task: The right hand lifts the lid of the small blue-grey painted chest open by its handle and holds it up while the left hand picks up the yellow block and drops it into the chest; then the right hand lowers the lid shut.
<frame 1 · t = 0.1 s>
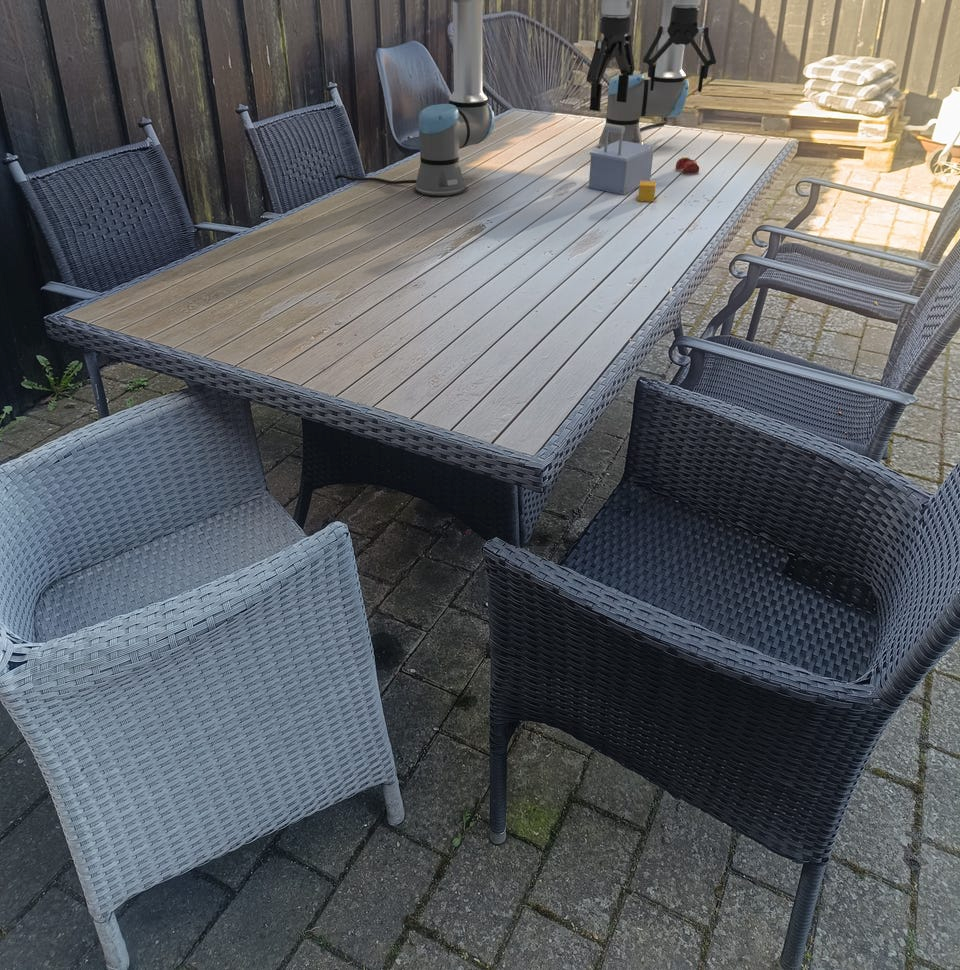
left hand: (608, 106, 226), 28 cm above the table, tool pointing down, fingers open, 13 cm apart
right hand: (675, 90, 243), 28 cm above the table, tool pointing down, fingers open, 13 cm apart
dark red rounded lump: (686, 171, 275), on the table
chest: (619, 184, 263), on the table
block: (646, 199, 251), on the table
lid: (623, 136, 254), point 14 cm above the table, hinge at -0.1°
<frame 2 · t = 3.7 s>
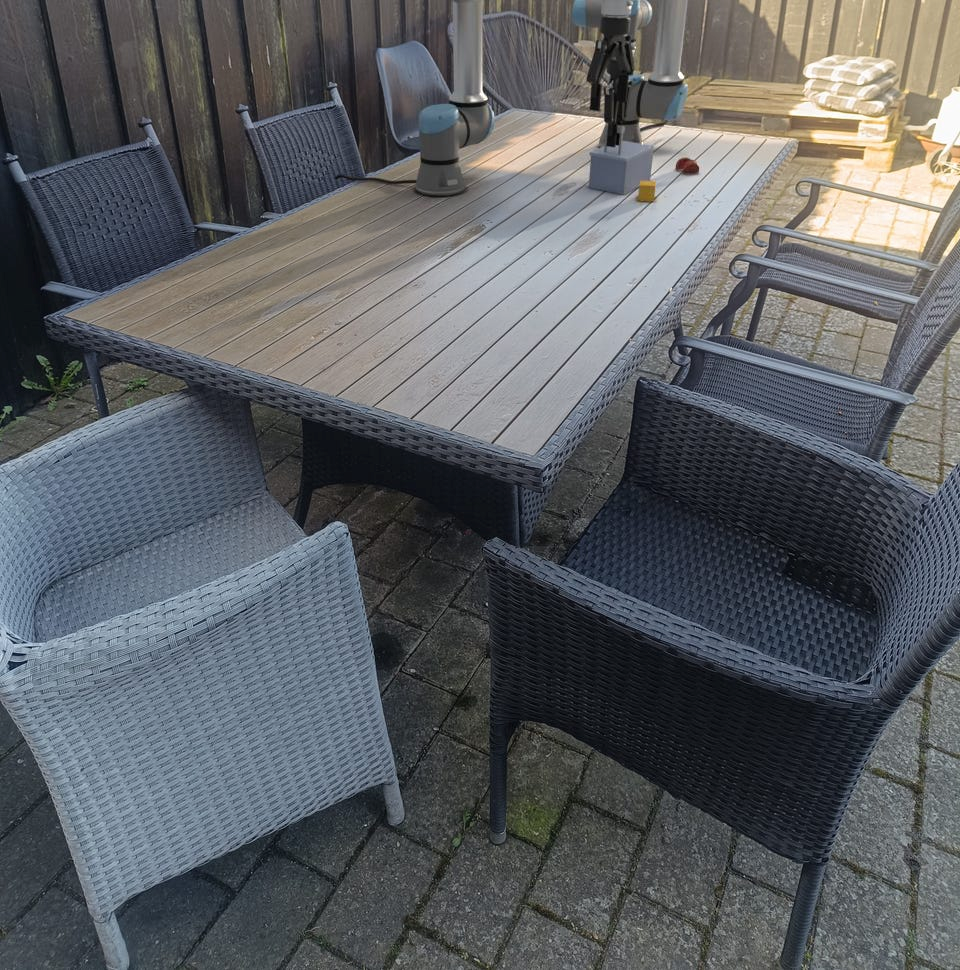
left hand: (608, 106, 226), 28 cm above the table, tool pointing down, fingers open, 13 cm apart
right hand: (613, 145, 251), 13 cm above the table, tool pointing down, fingers closed on lid, 2 cm apart
lid: (623, 136, 254), point 14 cm above the table, hinge at -0.1°, touching right hand
everything else where it was.
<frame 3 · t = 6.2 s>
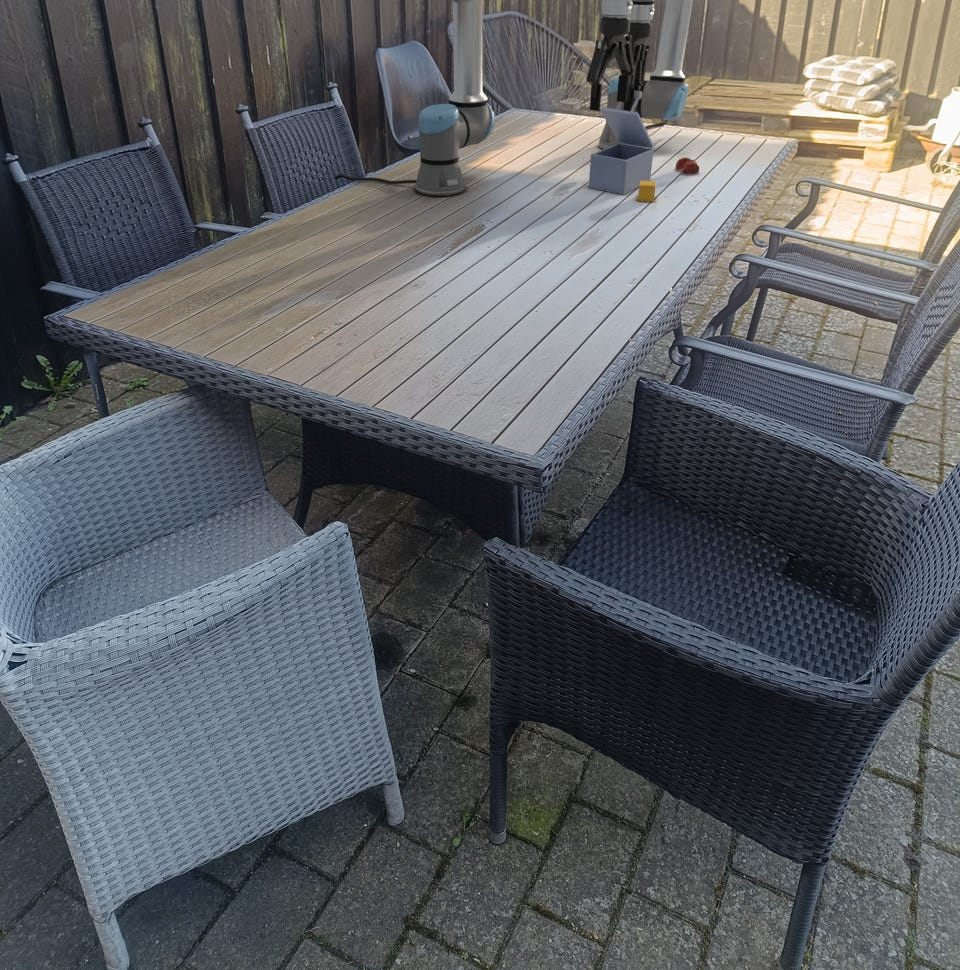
left hand: (608, 106, 226), 28 cm above the table, tool pointing down, fingers open, 13 cm apart
right hand: (630, 110, 252), 21 cm above the table, tool pointing down, fingers closed on lid, 2 cm apart
lid: (633, 116, 255), point 19 cm above the table, hinge at 41.6°, touching right hand
everything else where it was.
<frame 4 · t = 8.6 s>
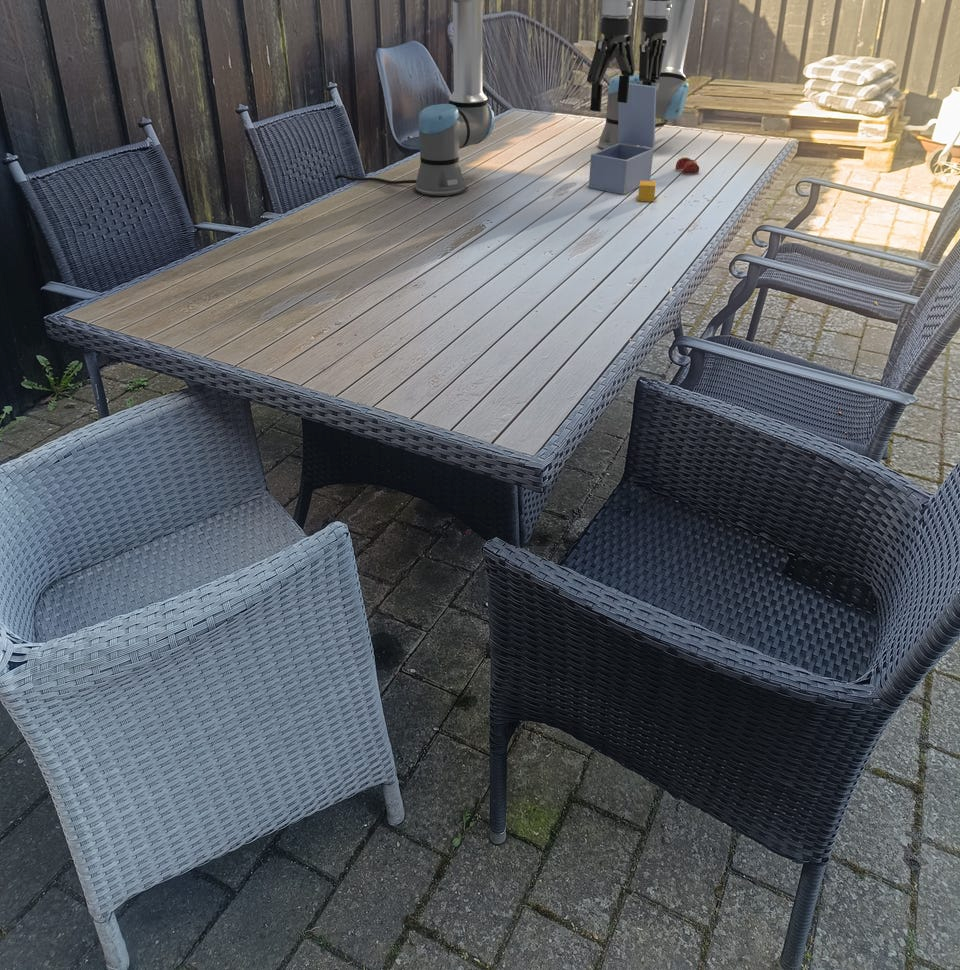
left hand: (609, 106, 226), 28 cm above the table, tool pointing down, fingers open, 13 cm apart
right hand: (646, 103, 259), 22 cm above the table, tool pointing down, fingers closed on lid, 2 cm apart
lid: (643, 110, 258), point 20 cm above the table, hinge at 78.6°, touching right hand
everything else where it was.
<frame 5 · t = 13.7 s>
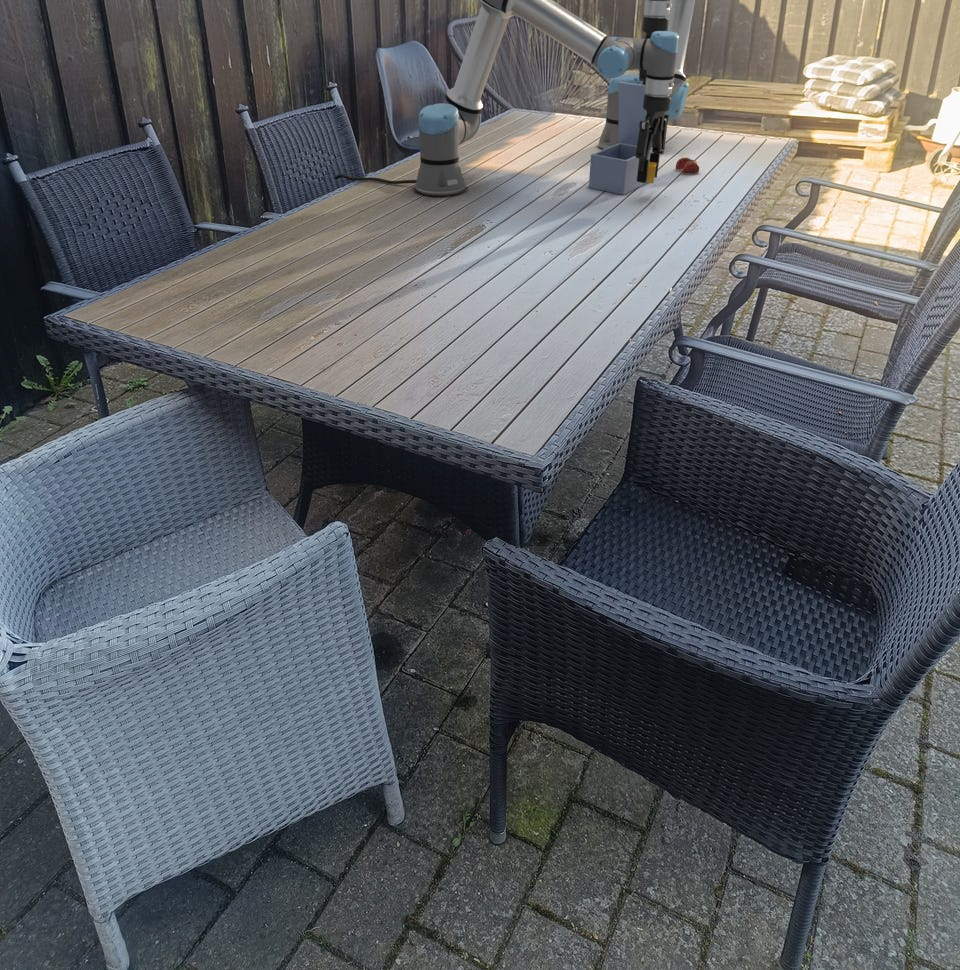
left hand: (646, 179, 248), 6 cm above the table, tool pointing down, fingers closed on block, 6 cm apart
right hand: (647, 103, 259), 22 cm above the table, tool pointing down, fingers closed on lid, 2 cm apart
block: (645, 180, 248), point 5 cm above the table, touching left hand
lid: (643, 110, 258), point 20 cm above the table, hinge at 79.0°, touching right hand
everything else where it was.
when the left hand's fingers open (16 cm above the table, at t = 16.3 s): block drops 15 cm, resting on chest.
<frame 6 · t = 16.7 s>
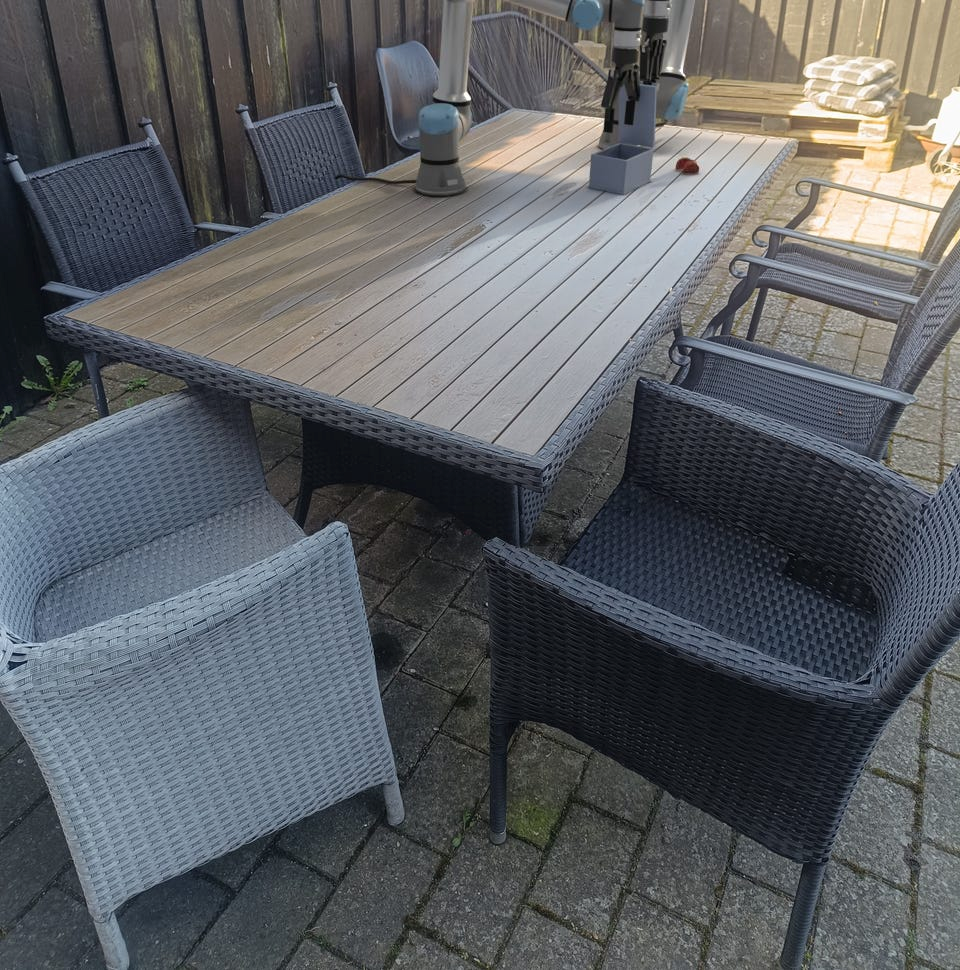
left hand: (618, 128, 250), 17 cm above the table, tool pointing down, fingers open, 12 cm apart
right hand: (647, 103, 259), 22 cm above the table, tool pointing down, fingers closed on lid, 2 cm apart
chest: (619, 184, 263), on the table, touching block
block: (613, 184, 260), point 1 cm above the table, touching chest
lid: (643, 110, 258), point 20 cm above the table, hinge at 79.5°, touching left hand, right hand
everything else where it was.
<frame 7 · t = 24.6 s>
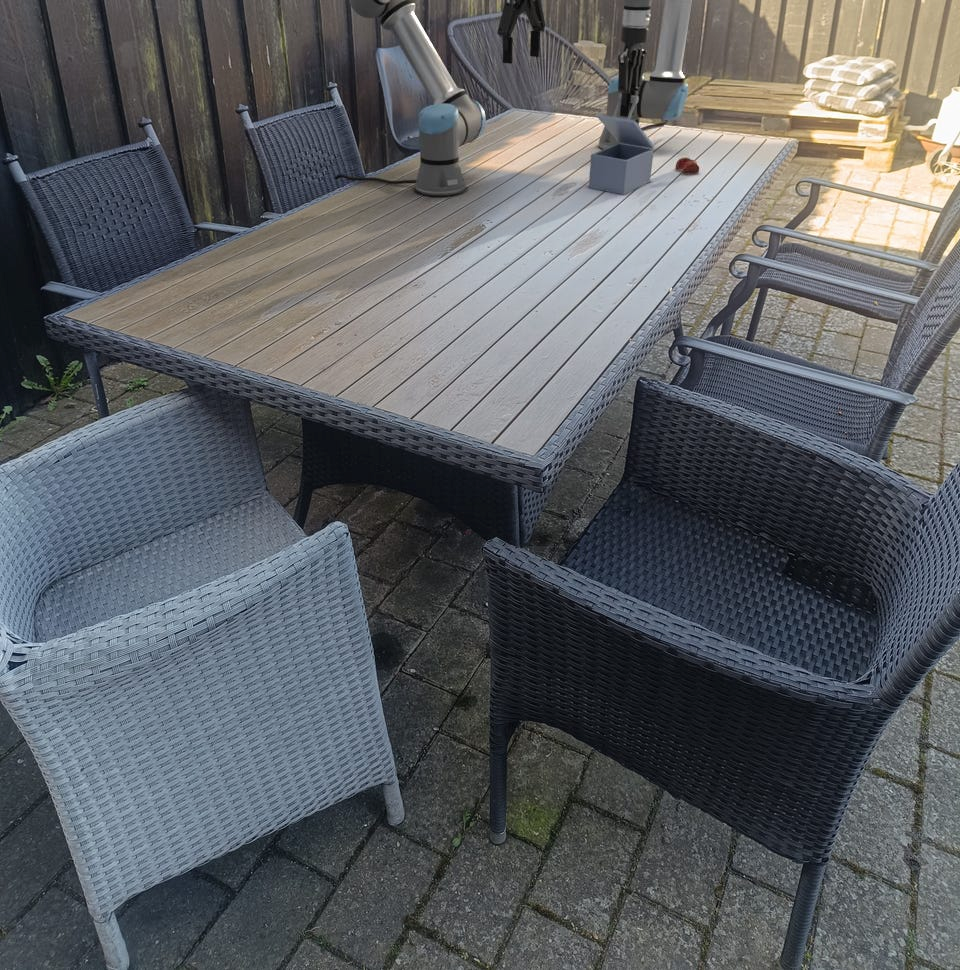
left hand: (521, 59, 240), 36 cm above the table, tool pointing down, fingers open, 13 cm apart
right hand: (626, 115, 251), 20 cm above the table, tool pointing down, fingers closed on lid, 2 cm apart
lid: (631, 118, 254), point 19 cm above the table, hinge at 34.1°, touching right hand
everything else where it was.
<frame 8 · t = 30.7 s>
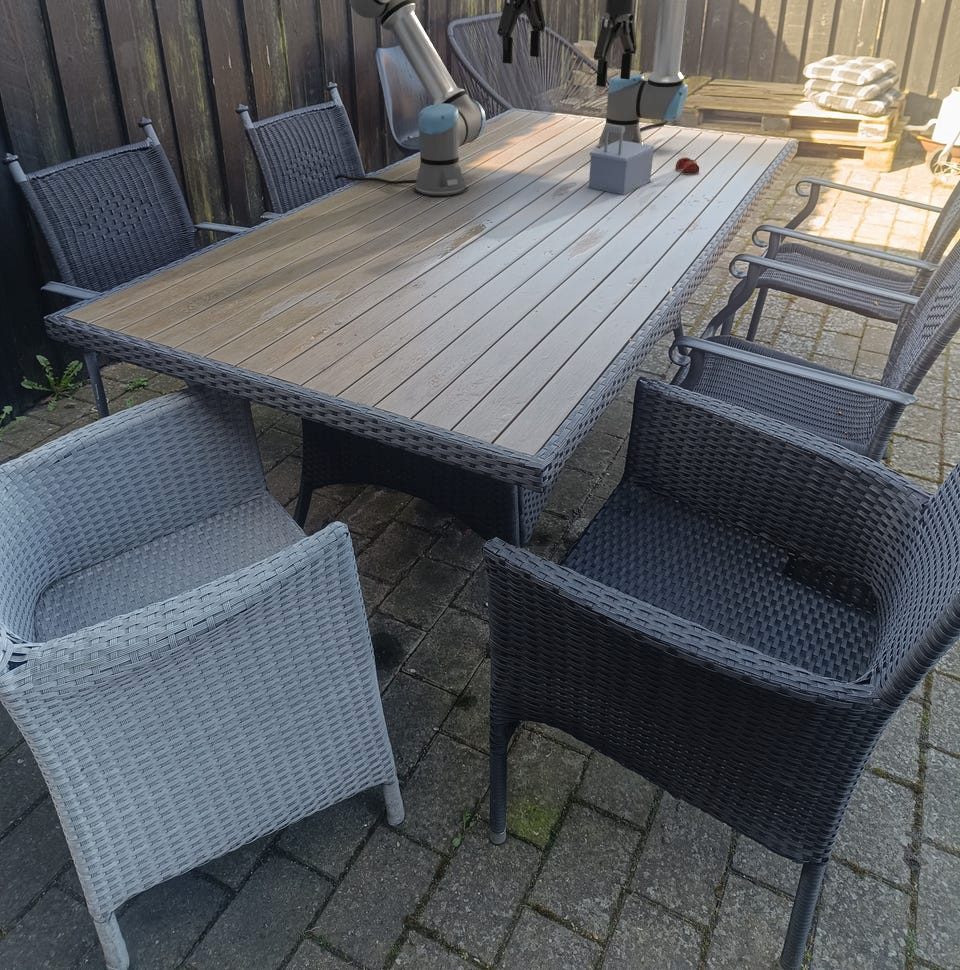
left hand: (521, 59, 240), 36 cm above the table, tool pointing down, fingers open, 13 cm apart
right hand: (613, 82, 239), 31 cm above the table, tool pointing down, fingers open, 13 cm apart
lid: (623, 136, 254), point 14 cm above the table, hinge at -0.1°
everything else where it was.
at the end: block inside the target area in the chest (4.0 cm from its centre), point 0.8 cm above the chest's base; lid at +0° (first picture: +0°); the left hand is holding nothing; the right hand is holding nothing; chest tilted 0°; chest moved 0.0 cm from its start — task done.
